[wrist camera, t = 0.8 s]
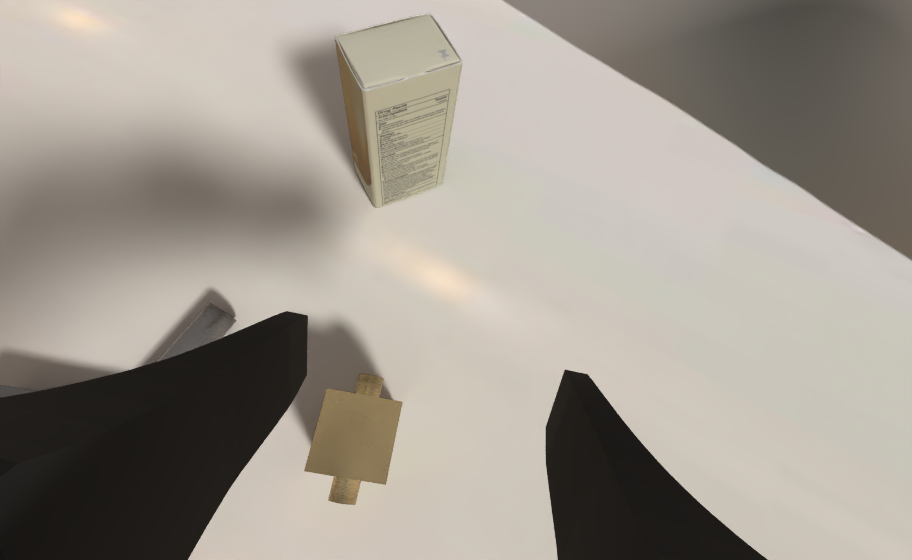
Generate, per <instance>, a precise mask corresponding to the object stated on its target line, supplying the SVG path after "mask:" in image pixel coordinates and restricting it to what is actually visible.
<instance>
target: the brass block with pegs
mask: <svg viewBox="0 0 912 560" xmlns="http://www.w3.org/2000/svg"><path fill="white" fill-rule="evenodd" d="M382 384H383V378H381V377H378V376H373V375H368V374H359V377H358V381H357V385H356V389H355V393H351V392H345V391H340V390H334V389H329V388H327V390H326V394H325V397H324V401H323V405H322V408H321V412H320V415H319V419H318V423H317V426H316V430H315V434H314V437H313V441H312V445H311V448H310V452H309V456H308V459H307V463H306V467H305V470H304V471H307V472H313V473H319V474H325V475H331V476H334V478H333V482H332V487H331V491H330V495H329V499H328V500H329V501H331V502H335V503H341V504H349V505H355V504H356V500H357V496H358V491H359V487H360V482H361V481H367V482H373V483H379V484H385V485H386V481H387V476H388V471H389V466H390V461H391V456H392V451H393V446H394V441H395V436H396V431H397V426H398V421H399V416H400V411H401V406H402V402H400V401H395V400H389V399H384V398H379V397H380V393H381V388H382Z"/></svg>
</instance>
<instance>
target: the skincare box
mask: <svg viewBox="0 0 912 560" xmlns="http://www.w3.org/2000/svg"><path fill="white" fill-rule="evenodd" d="M335 42H336V49H337V55H338V61H339V67H340V74H341V81H342V88H343V94H344V101H345V107H346V114H347V120H348V127H349V133H350V140H351V146H352V152H353V159H354V166H355V169H356V171H357V174H358V176H359V178H360V180H361V182H362V184H363V187H364V189H365V191H366V193H367V195H368V197H369V198H370V200H371V202H372V204H373V206H374V207H376V208H378V207H381V206H384V205H387V204H390V203H393V202H396V201H399V200H401V199H404V198H407V197H409V196H412V195H415V194H417V193H420V192H422V191H425V190H427V189H430V188H432V187H435V186H437V185H440V184H442V183H443V177H444V171H445V165H446V159H447V153H448V147H449V141H450V135H451V129H452V123H453V117H454V111H455V105H456V99H457V93H458V87H459V81H460V75H461V69H462V63H463V61H462V59H461V58H460V56H459V55H458V53H457V51H456V50H455V48H454V47H453V45H452V43H451V42H450V40H449V39H448V37H447V36H446V34H445V33H444V31H443V30H442V28H441V27H440V25H439V24H438V22H437V21H436V20H435V19H434V17H433V16H432V14H431V13H425V14H421V15H416V16H411V17H407V18H403V19H398V20H394V21H391V22H386V23H382V24H378V25H374V26H370V27H367V28H362V29H359V30H355V31H351V32H348V33H344V34H340V35H336V36H335Z"/></svg>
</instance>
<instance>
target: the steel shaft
mask: <svg viewBox="0 0 912 560" xmlns="http://www.w3.org/2000/svg"><path fill="white" fill-rule="evenodd" d="M235 322H236V320H235V319H234V318H233V317H231V316H230V315H229V314H227V313H226V312H224V311H222V310H221V309H219V308H218V307H216V306H214V305H213V304H211V303H208V304H207V305H206V306H205V308H204V309H203V310H202V311H201V312H200V313H199V314H198V315H197V317H196V318H195V319H194V320H193V321H192V322H191V323H190V325H189V326H188V327H187V328H186V329H185V330H184V331H183V332H182V334H181V335H180V336H179V337H178V338H177V339H176V340H175V342H174V343H173V344H172V345H171V346H170V347H169V348H168V349H167V351H166V352H165V353H164V354H163V355H162V356H161V357H160V358H159V360H158V361H161V360H164V359H167V358H170V357H173V356H176V355H179V354H182V353H184V352H187V351H189V350H192V349H195V348H197V347H200V346H203V345H205V344H208V343H210V342H213V341H216V340H218V339H221V338H222V337H223V336H224V335H225V334H226V333H227V331H228V330H229V329H230V328H231V327H232V325H233V324H234V323H235ZM158 361H157V362H158Z"/></svg>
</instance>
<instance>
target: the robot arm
mask: <svg viewBox="0 0 912 560" xmlns="http://www.w3.org/2000/svg"><path fill="white" fill-rule="evenodd" d="M307 326H308V316H307V315H302V314H297V313H293V312H288V311H286V312H283V313H280V314H278V315H275V316H273V317H270V318H268V319H265V320H263V321H261V322H258V323H256V324H254V325H251V326H249V327H247V328H244V329H242V330H240V331H237V332H235V333H232V334H230V335H228V336H225V337H223V338H221V339H218V340H216V341H213V342H210V343H208V344H205V345H203V346H200V347H197V348H195V349H192V350H189V351H187V352H184V353H182V354H179V355H176V356H173V357H170V358H167V359H164V360H161V361H158V362H155V363H152V364H148V365H145V366H142V367H138V368H135V369H132V370H128V371H125V372H121V373H117V374H113V375H109V376H104V377H100V378H96V379H92V380H88V381H84V382H80V383H75V384H71V385H66V386H62V387H56V388H51V389H46V390H41V391H36V392H30V393H24V394H19V395H13V396H7V397H1V398H0V560H188V558H189V556H190V555H191V553H192V551H193V549H194V548H195V546H196V544H197V542H198V541H199V539H200V537H201V535H202V534H203V532H204V530H205V529H206V527H207V525H208V523H209V522H210V520H211V518H212V517H213V515H214V513H215V512H216V510H217V508H218V507H219V505H220V503H221V502H222V500H223V498H224V497H225V495H226V494H227V492H228V490H229V489H230V487H231V486H232V484H233V483H234V481H235V480H236V478H237V477H238V476H239V474H240V473H241V471H242V470H243V469H244V467H245V466H246V465H247V463H248V462H249V461H250V459H251V458H252V456H253V455H254V454H255V452H256V451H257V450H258V448H259V447H260V446H261V444H262V443H263V442H264V440H265V439H266V438H267V436H268V435H269V434H270V432H271V431H272V430H273V428H274V427H275V426H276V424H277V423H278V421H279V420H280V419H281V417H282V416H283V415H284V413H285V412H286V410H287V409H288V408H289V406H290V405H291V403H292V401H293V399H294V398H295V396H296V394H297V392H298V390H299V389H300V387H301V385H302V383H303V381H304V379H305V377H306V375H307ZM546 467H547V476H548V484H549V492H550V499H551V507H552V514H553V522H554V530H555V537H556V545H557V555H558V560H767V559H766V558H765V557H763V556H762V555H761V554H759V553H758V552H757V551H756V550H754V549H753V548H752V547H751V546H749V545H748V544H747V543H746V542H744V541H743V540H742V539H741V538H739V537H738V536H737V535H736V534H735V533H733V532H732V531H731V530H730V529H729V528H728V527H726V526H725V525H724V524H723V523H722V522H721V521H719V520H718V519H717V518H716V517H715V516H714V515H712V514H711V513H710V512H709V511H708V510H707V509H706V508H705V507H703V506H702V505H701V504H700V503H699V502H698V501H697V500H696V499H695V498H694V497H693V496H692V495H691V494H690V493H689V492H687V491H686V490H685V489H684V488H683V487H682V486H681V485H680V484H679V483H678V482H677V481H676V480H675V479H674V478H673V477H672V476H671V475H670V474H669V473H668V472H667V471H666V470H665V469H664V468H663V466H662V465H661V464H660V463H659V462H658V461H657V460H656V459H655V458H654V457H653V455H652V454H651V453H650V452H649V451H648V450H647V449H646V448H645V446H644V445H643V444H642V443H641V442H640V441H639V440H638V438H637V437H636V436H635V435H634V434H633V432H632V431H631V430H630V429H629V427H628V426H627V425H626V424H625V422H624V421H623V420H622V419H621V417H620V416H619V415H618V414H617V412H616V411H615V410H614V408H613V407H612V406H611V404H610V403H609V402H608V400H607V399H606V398H605V397H604V395H603V394H602V393H601V391H600V390H599V389H598V387H597V386H596V385H595V383H594V382H593V381H592V379H591V378H590V377H589V376H588V374H583V373H578V372H574V371H569V370H565V371H564V374H563V377H562V380H561V383H560V386H559V389H558V392H557V395H556V398H555V401H554V404H553V407H552V410H551V413H550V416H549V419H548V422H547V425H546Z"/></svg>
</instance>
